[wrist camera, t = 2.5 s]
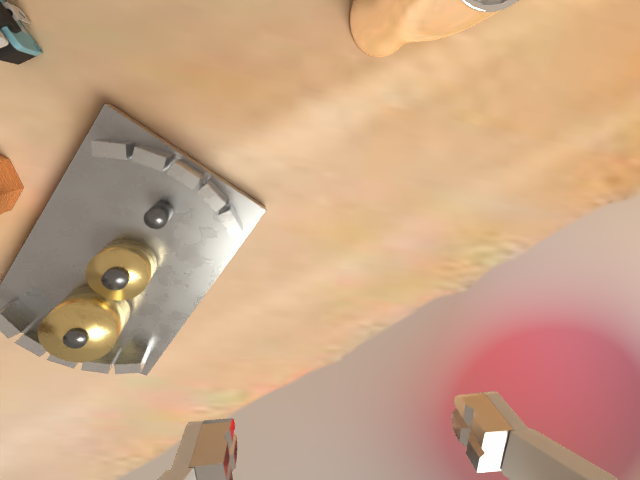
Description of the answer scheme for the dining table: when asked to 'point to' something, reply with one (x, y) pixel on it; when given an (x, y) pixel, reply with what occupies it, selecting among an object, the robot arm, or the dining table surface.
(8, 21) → the push button
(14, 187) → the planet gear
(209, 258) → the carrier
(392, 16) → the beer glass
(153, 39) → the dining table surface
